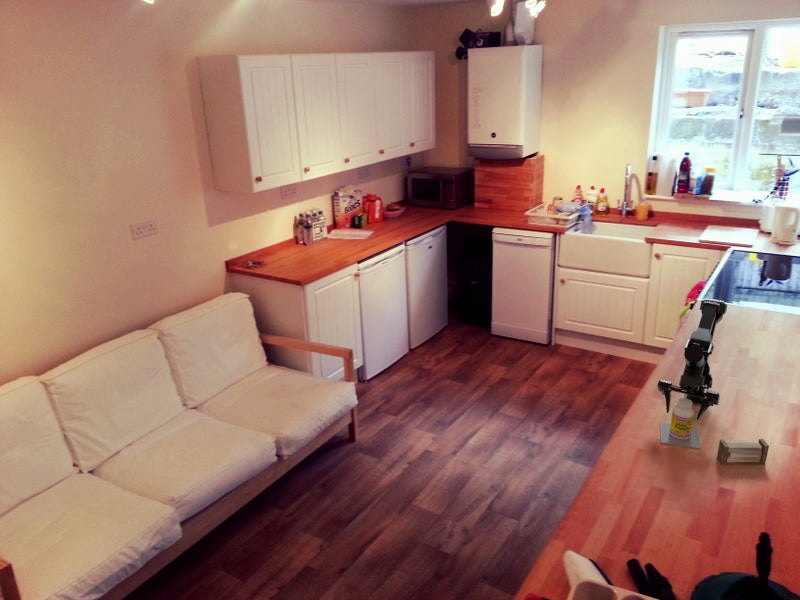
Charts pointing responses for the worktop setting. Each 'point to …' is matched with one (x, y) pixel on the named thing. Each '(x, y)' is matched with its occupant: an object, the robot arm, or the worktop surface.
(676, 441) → the slate mat
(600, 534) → the worktop surface
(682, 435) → the supplement bottle
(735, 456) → the offcut rack
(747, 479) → the worktop surface
